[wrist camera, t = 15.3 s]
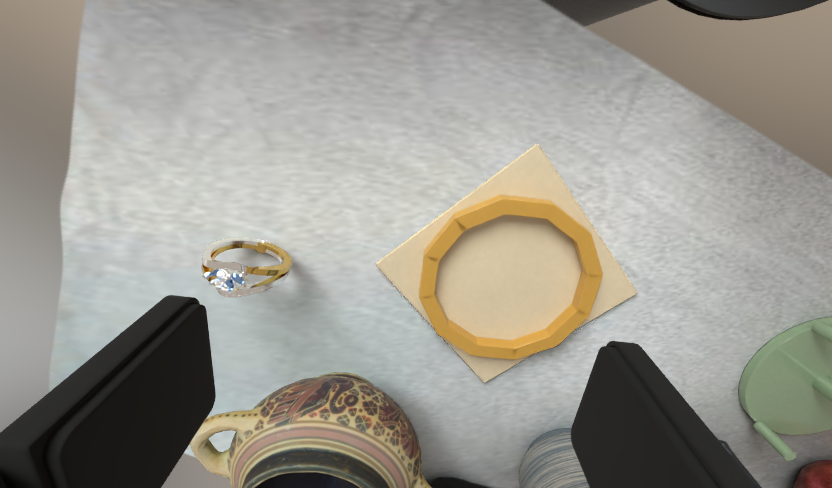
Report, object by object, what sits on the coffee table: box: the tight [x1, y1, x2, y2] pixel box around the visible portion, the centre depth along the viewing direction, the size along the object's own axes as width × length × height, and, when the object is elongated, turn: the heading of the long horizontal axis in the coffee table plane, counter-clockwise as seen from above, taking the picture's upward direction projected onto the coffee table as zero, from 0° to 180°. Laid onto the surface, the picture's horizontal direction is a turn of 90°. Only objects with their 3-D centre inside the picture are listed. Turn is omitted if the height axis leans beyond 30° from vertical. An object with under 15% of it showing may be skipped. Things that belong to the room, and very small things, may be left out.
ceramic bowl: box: [190, 372, 432, 488], centre depth 38 cm, size 24×18×15 cm
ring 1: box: [202, 237, 292, 297], centre depth 33 cm, size 7×3×8 cm, turn 70°
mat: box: [376, 144, 637, 383], centre depth 37 cm, size 18×18×1 cm
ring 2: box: [419, 195, 603, 360], centre depth 37 cm, size 17×17×1 cm
